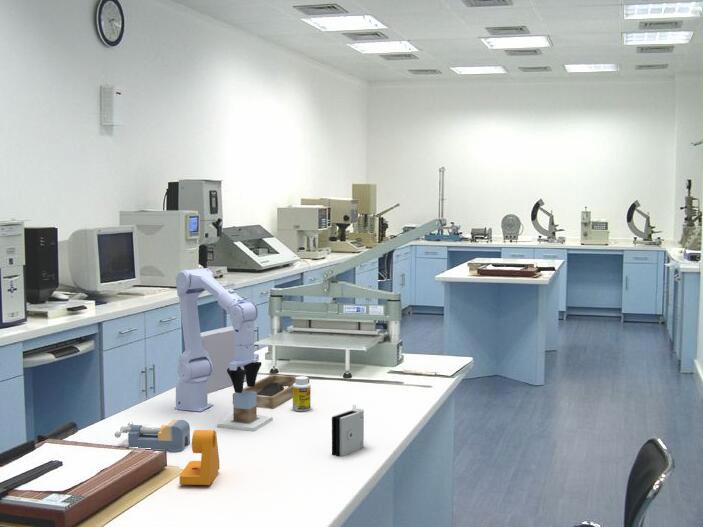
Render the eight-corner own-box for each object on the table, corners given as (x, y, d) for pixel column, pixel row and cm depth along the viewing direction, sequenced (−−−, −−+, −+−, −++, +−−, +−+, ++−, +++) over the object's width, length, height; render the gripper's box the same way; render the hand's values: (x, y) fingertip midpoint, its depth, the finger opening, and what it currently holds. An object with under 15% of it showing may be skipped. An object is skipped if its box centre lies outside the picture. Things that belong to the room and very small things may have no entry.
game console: (254, 379, 292) (253, 325, 291) (202, 395, 269) (201, 336, 268) (242, 377, 295) (241, 323, 294) (189, 393, 273) (188, 335, 271)
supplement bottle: (298, 413, 248) (298, 380, 247) (289, 408, 253) (289, 376, 252) (313, 410, 251) (313, 378, 250) (305, 406, 256) (304, 374, 255)
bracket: (190, 471, 197) (189, 423, 196) (219, 471, 197) (218, 424, 196) (178, 487, 186) (177, 437, 185) (209, 488, 186) (208, 437, 185)
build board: (217, 426, 234) (217, 423, 234) (237, 415, 245) (237, 412, 245) (254, 431, 229) (253, 427, 229) (272, 419, 241) (272, 416, 241)
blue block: (233, 407, 235) (233, 394, 235) (241, 403, 240) (241, 390, 240) (248, 409, 233) (248, 395, 233) (256, 405, 238) (256, 391, 238)
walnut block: (233, 421, 236) (233, 407, 235) (241, 416, 240) (241, 403, 240) (248, 422, 234) (248, 409, 234) (256, 418, 239) (256, 405, 238)
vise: (192, 441, 221) (191, 417, 220) (180, 453, 210) (179, 429, 210) (129, 439, 223) (128, 415, 222) (114, 451, 212) (113, 426, 212)
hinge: (353, 440, 222) (353, 404, 221) (370, 443, 219) (371, 407, 218) (329, 455, 209) (329, 417, 208) (347, 458, 207) (347, 420, 206)
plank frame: (232, 404, 258) (232, 393, 258) (272, 384, 285) (271, 374, 284) (273, 408, 253) (273, 397, 253) (309, 387, 280) (309, 377, 279)
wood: (273, 405, 259) (272, 395, 259) (250, 403, 260) (250, 394, 260) (291, 388, 281) (291, 379, 280) (270, 387, 282) (270, 378, 282)
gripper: (244, 349, 227) (245, 396, 228) (267, 340, 240) (268, 384, 242) (222, 347, 229) (223, 394, 231) (246, 338, 243) (247, 382, 244)
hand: (244, 389), depth 236 cm, fingers open, 7 cm apart
